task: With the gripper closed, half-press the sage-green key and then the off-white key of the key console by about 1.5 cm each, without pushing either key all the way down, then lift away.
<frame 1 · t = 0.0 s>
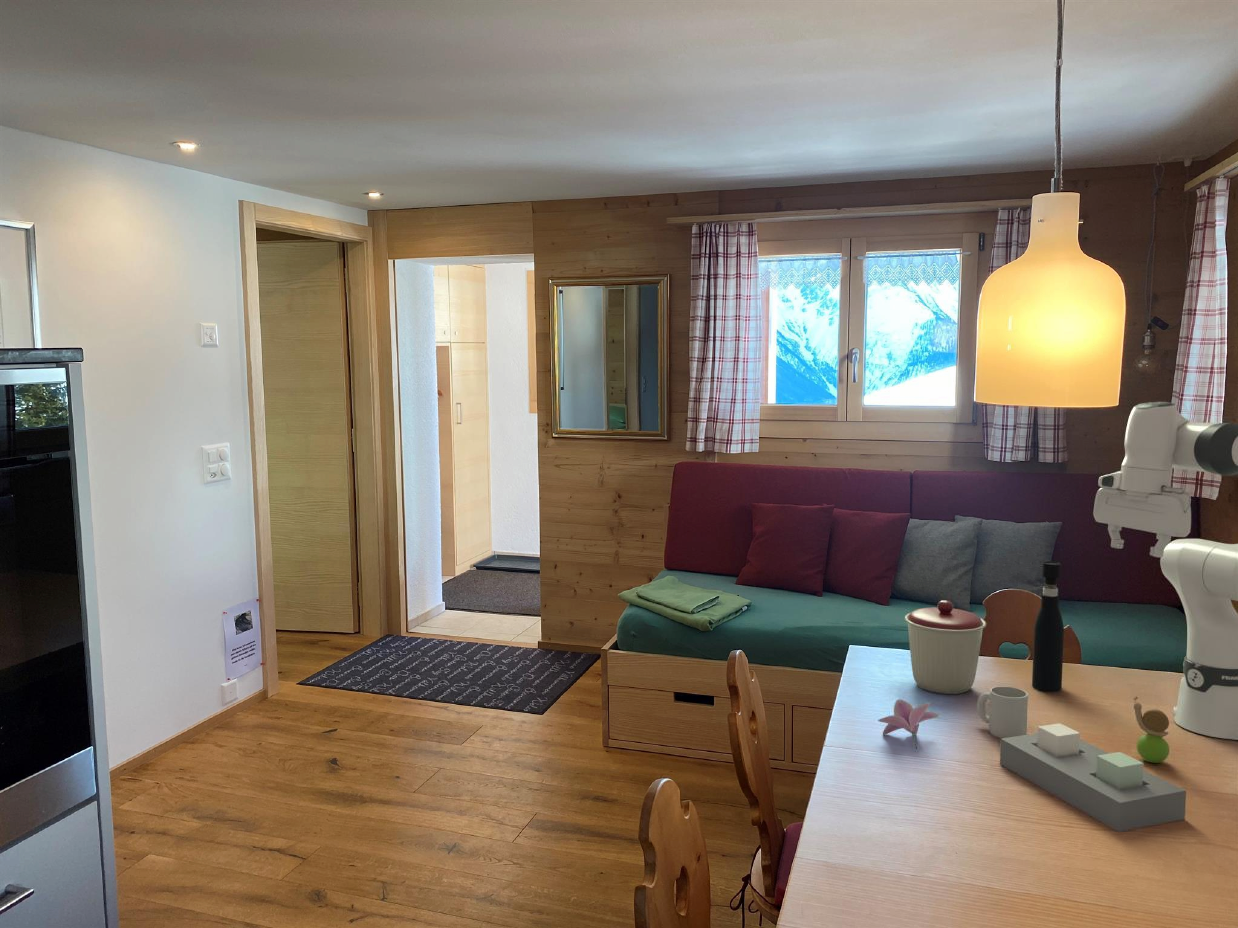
hand: (1135, 552, 185), 39 cm above the table, tool pointing down, fingers open, 8 cm apart
cup: (1000, 732, 194), on the table
white key: (1058, 742, 173), point 6 cm above the table, slide at 0.0 cm
green key: (1119, 773, 160), point 6 cm above the table, slide at 0.0 cm
key console: (1086, 789, 167), on the table
lily: (908, 742, 190), on the table
canister: (943, 688, 221), on the table
wine bottle: (1046, 688, 221), on the table
snail figurine: (1149, 761, 179), on the table
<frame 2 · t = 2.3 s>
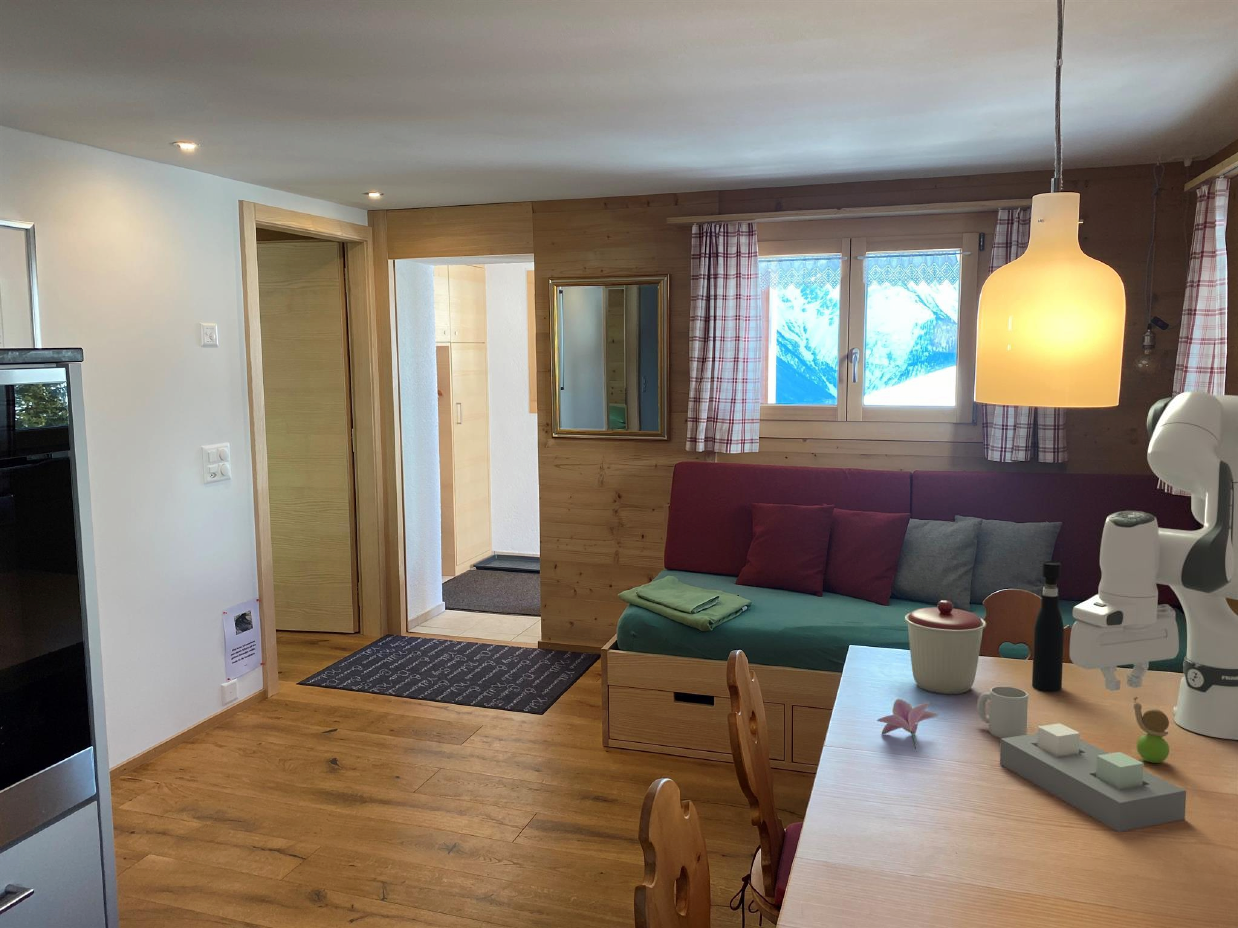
hand: (1123, 687, 158), 21 cm above the table, tool pointing down, fingers open, 3 cm apart
nothing on the table moved.
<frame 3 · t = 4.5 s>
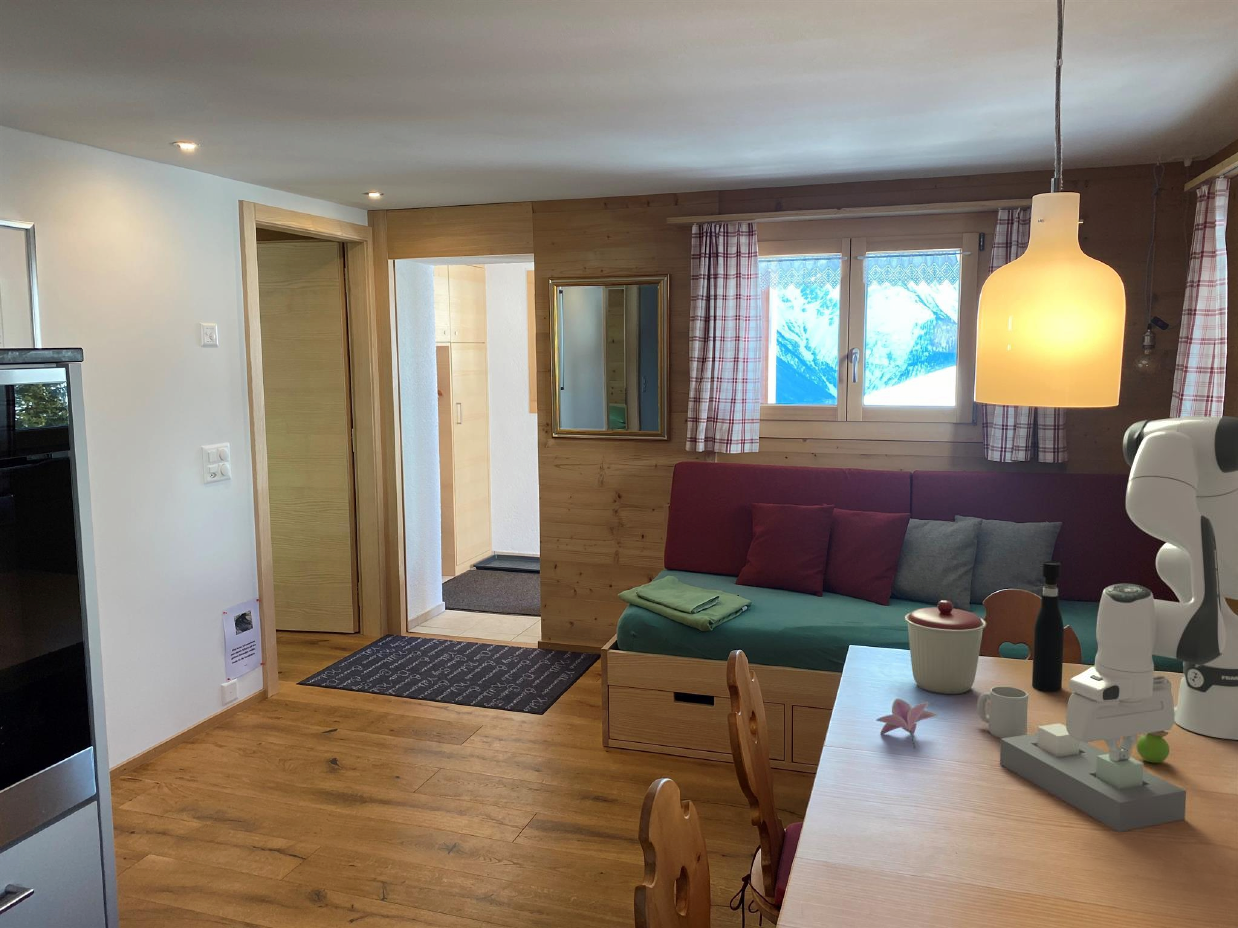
hand: (1119, 759, 160), 9 cm above the table, tool pointing down, fingers closed, pressing on green key
green key: (1119, 773, 160), point 6 cm above the table, slide at 0.0 cm, touching gripper
everything else where it was.
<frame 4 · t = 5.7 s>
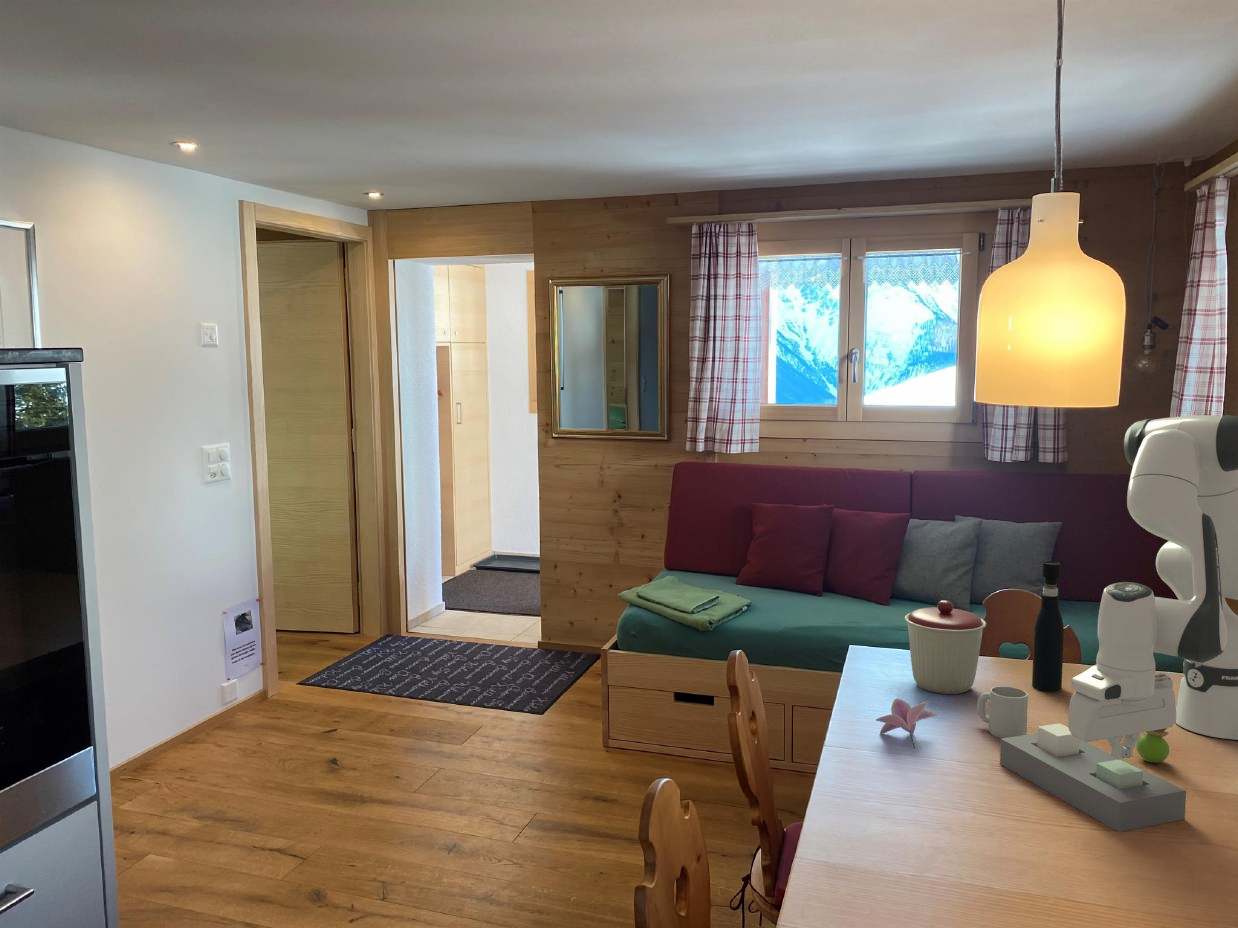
hand: (1121, 757, 160), 9 cm above the table, tool pointing down, fingers closed
green key: (1118, 780, 160), point 5 cm above the table, slide at 1.4 cm
everything else where it was.
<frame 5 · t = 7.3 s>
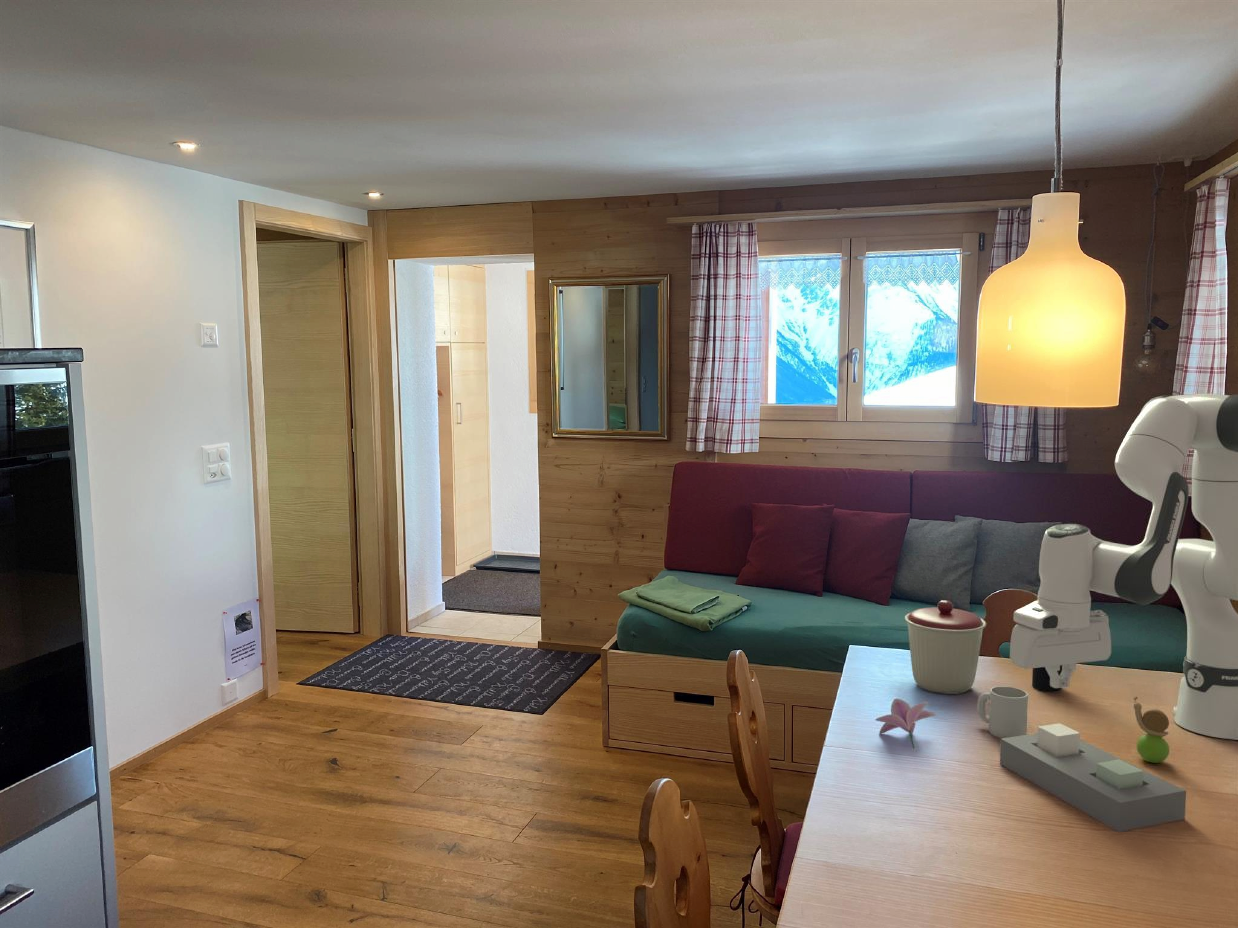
hand: (1059, 686, 172), 17 cm above the table, tool pointing down, fingers closed
nothing on the table moved.
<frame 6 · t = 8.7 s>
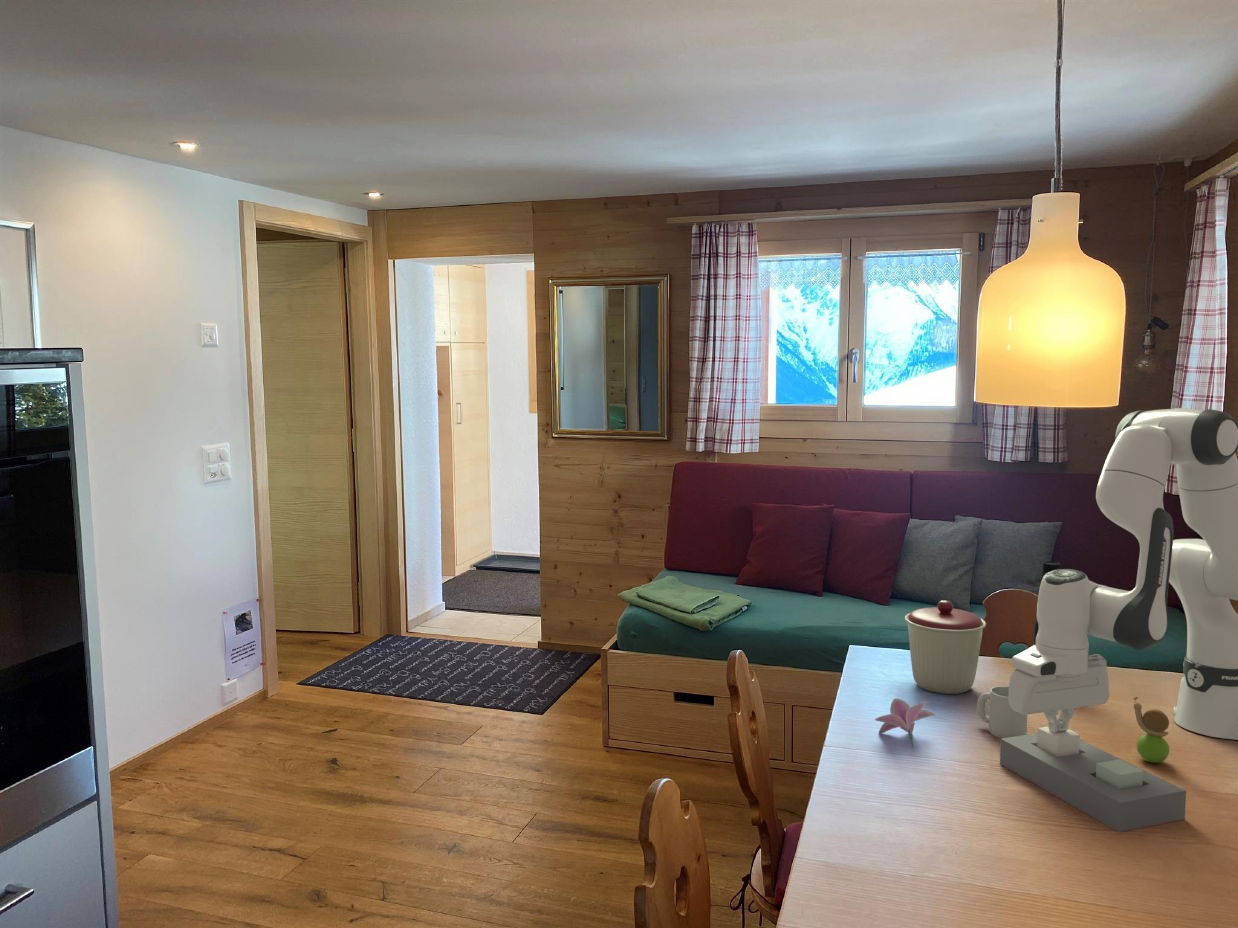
hand: (1058, 730, 173), 8 cm above the table, tool pointing down, fingers closed, pressing on white key
white key: (1058, 743, 173), point 6 cm above the table, slide at 0.3 cm, touching gripper
everything else where it was.
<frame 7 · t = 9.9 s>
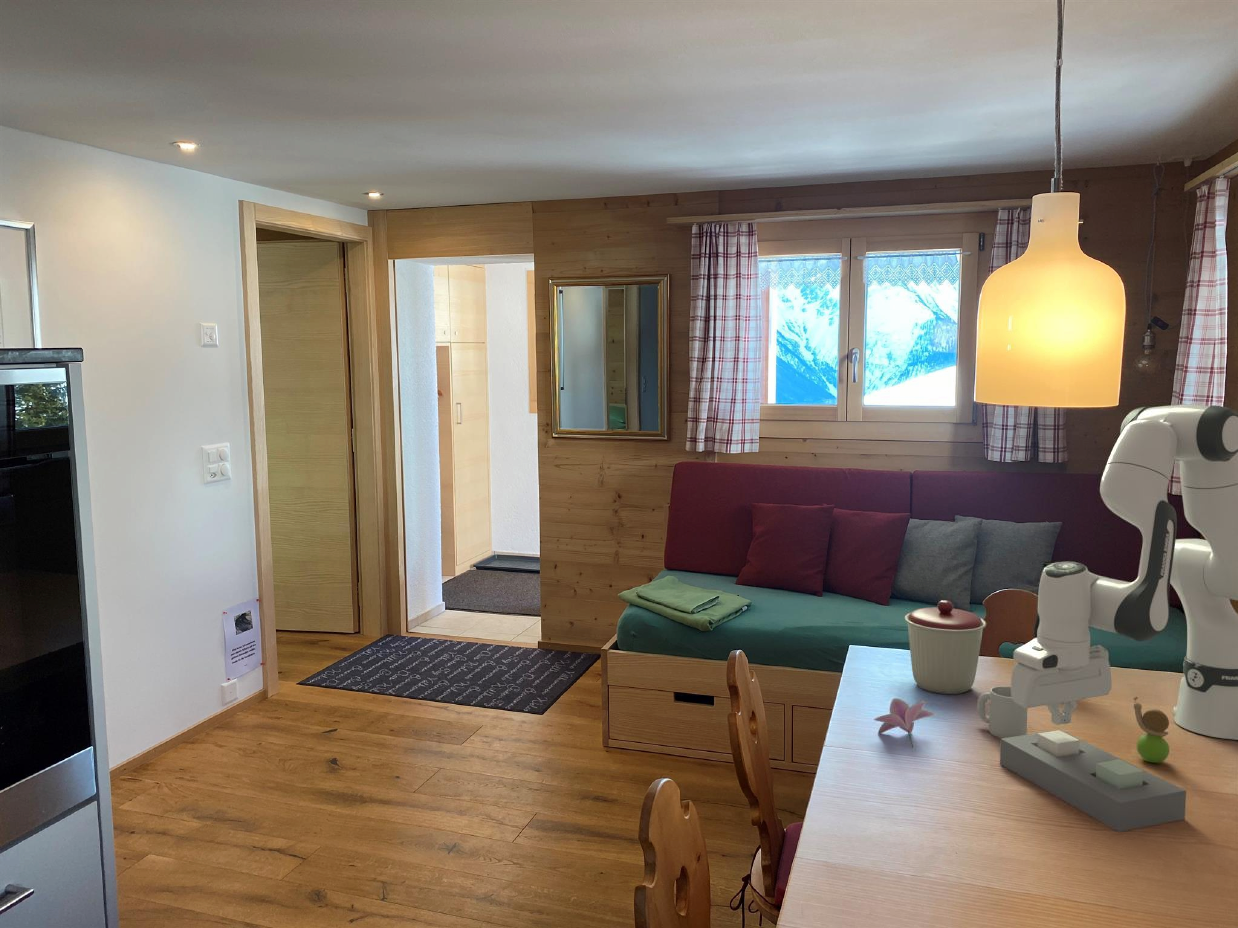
hand: (1061, 722, 173), 10 cm above the table, tool pointing down, fingers closed
white key: (1057, 749, 173), point 5 cm above the table, slide at 1.4 cm
everything else where it was.
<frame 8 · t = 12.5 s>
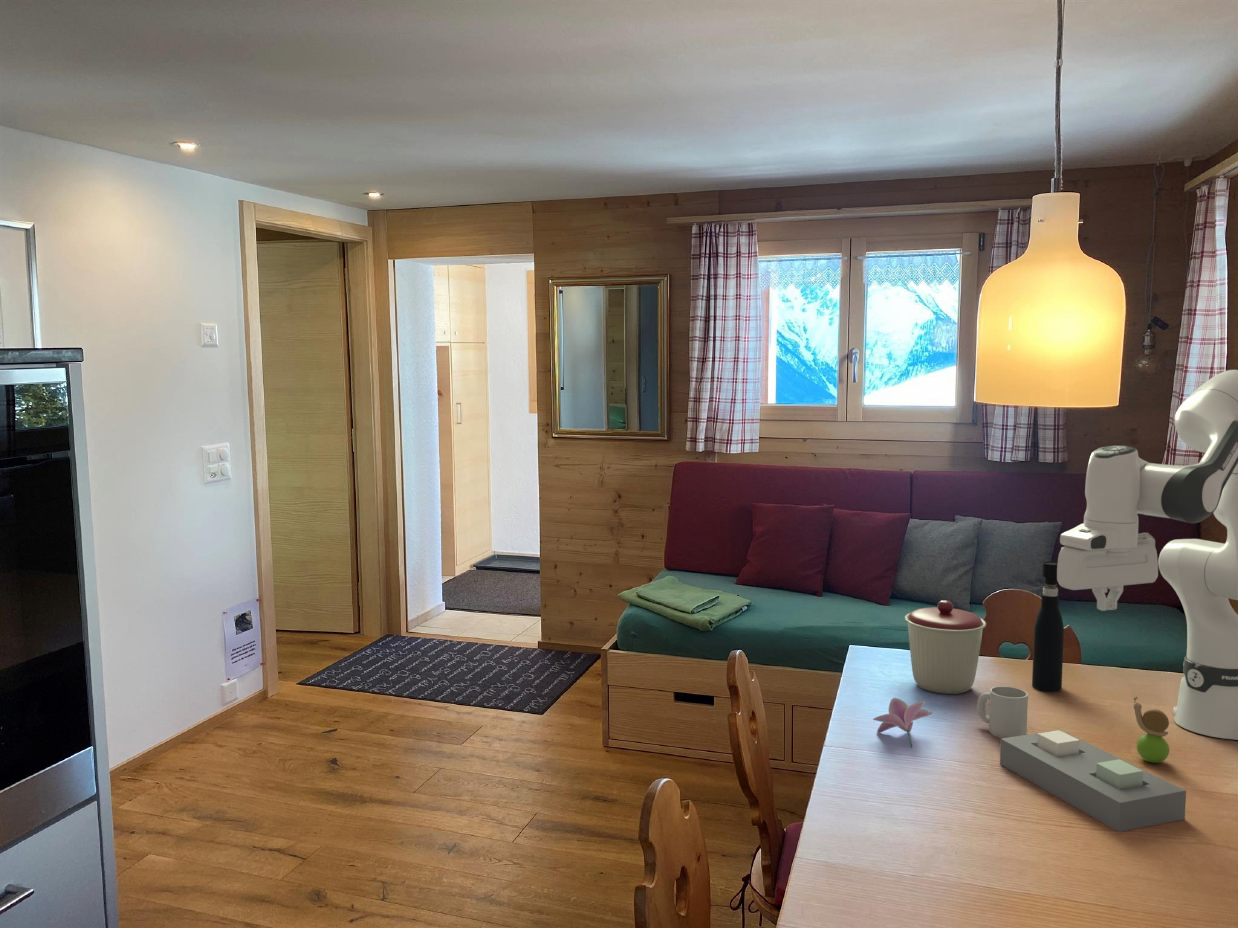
hand: (1106, 609, 171), 31 cm above the table, tool pointing down, fingers closed
at the end: green key slide at 1.4 cm; white key slide at 1.4 cm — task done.
